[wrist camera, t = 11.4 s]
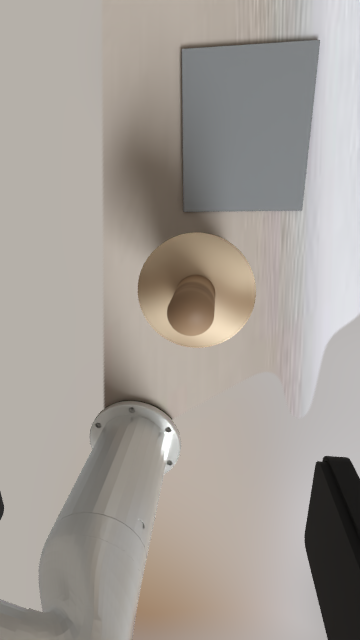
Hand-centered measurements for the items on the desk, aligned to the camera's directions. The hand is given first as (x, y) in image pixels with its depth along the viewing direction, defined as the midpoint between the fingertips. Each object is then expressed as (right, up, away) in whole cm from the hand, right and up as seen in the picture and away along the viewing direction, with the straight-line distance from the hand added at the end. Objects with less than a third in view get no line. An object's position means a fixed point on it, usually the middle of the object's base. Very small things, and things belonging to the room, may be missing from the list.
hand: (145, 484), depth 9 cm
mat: (+7, +23, +23) cm, 33 cm away
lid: (+2, +7, +18) cm, 20 cm away
